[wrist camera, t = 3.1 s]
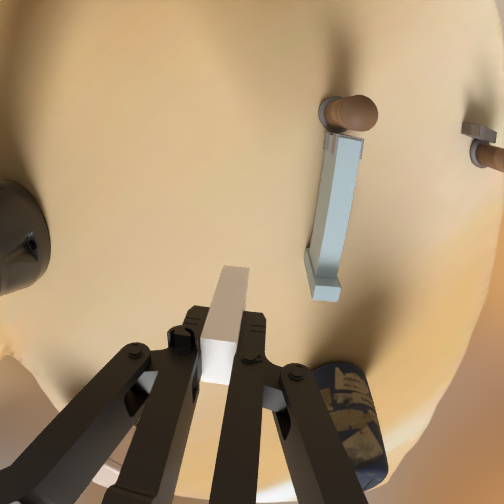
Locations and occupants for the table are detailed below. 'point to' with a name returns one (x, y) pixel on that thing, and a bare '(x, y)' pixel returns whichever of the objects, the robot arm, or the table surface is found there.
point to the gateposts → (366, 114)
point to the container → (114, 462)
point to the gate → (332, 214)
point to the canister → (354, 419)
